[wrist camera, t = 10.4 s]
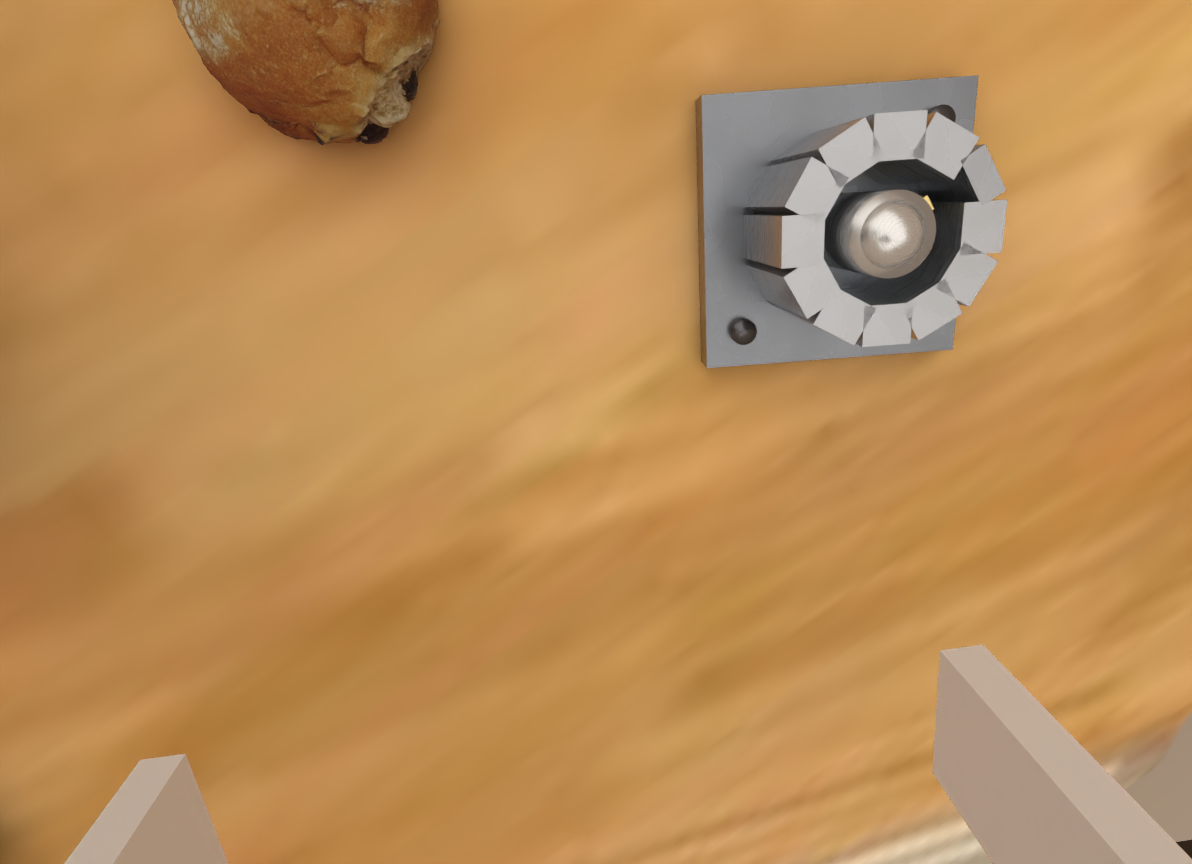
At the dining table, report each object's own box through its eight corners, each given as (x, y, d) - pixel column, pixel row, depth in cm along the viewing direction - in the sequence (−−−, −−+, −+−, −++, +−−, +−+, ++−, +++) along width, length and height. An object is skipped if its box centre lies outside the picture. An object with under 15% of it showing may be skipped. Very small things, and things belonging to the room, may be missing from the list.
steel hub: (743, 328, 33) (780, 353, 27) (743, 137, 30) (783, 120, 24) (918, 314, 33) (992, 337, 27) (933, 123, 30) (1018, 103, 24)
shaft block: (701, 361, 35) (739, 405, 27) (695, 100, 31) (737, 63, 23) (936, 343, 35) (1042, 382, 27) (959, 81, 31) (1090, 38, 23)
